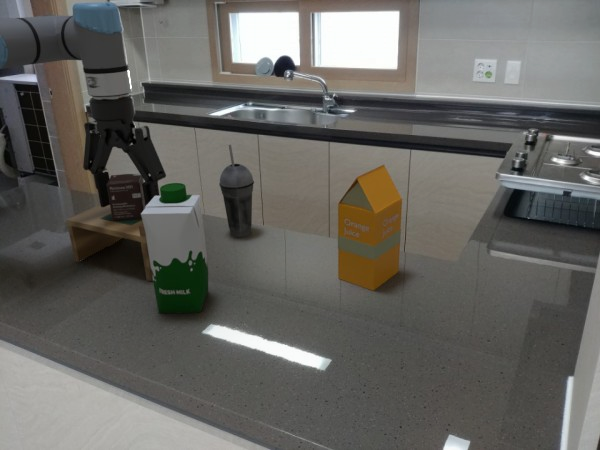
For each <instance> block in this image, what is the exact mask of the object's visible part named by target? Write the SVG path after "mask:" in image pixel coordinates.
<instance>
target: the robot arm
mask: <svg viewBox="0 0 600 450" xmlns="http://www.w3.org/2000/svg"><path fill="white" fill-rule="evenodd" d="M71 10H72V15H61V14H60V15H56V14H42V15H38V16H29V17H28V16H27V17H26V16H25V17H7V18H0V70H3V69H10V68H16V67H24V66H30V65H38V64H45V63H52V62H53V63H54V62H60V61H81V64H82V71H83V74H84V79H85V84H86V91H87V94H88V96H89V97H90V99H89V101H88V103H89V108H90V114H91V118H92V119H93V120H92V121H88V122H84V123H83V126H84V127H83V128H84V131H85V142H84V153H83V164H82V165H83V167H82V168H83V169H84V171H89V172H90V173H91V175H92V176H93V181H94V187H95V188H96V190H97V193H98V199H99V205H101V207H106V206H108V205H110V202H109V196H108V190H107V183H108V181H109V179H110V175H109V171H108V168H107V165H108V161H109V159H110V156H111V153H112V150H113V148H117V149H120V150H122V152H123V153H125V154H127V156H128V157H129V159H130V160H131V162H132V164H133V165H134V166H135V167H136V170H137V171H138V174H141V176H142V177H143V181H144V183H142V187H143V194H144V200H145V206H146V205H147V204H148V203H149V202H150V201H151V200H152V198H153V197H154V196H160V187H159V181H160V180H163V179H165V178H166V177H167V174H166V172H165V169H164V166H163V163H162V162H161V160H160V157H159V154H158V153H157V150H156V147H155V145H154V143H153V140H152V139H151V132H150V127H149V126H148V125H143V126H136V124H135V122H134V118H135V116H136V107H135V100H134V97H133V95H131V93H132V92H133V87H132V81H131V75H130V70H129V62H128V55H127V49H126V41H125V35H124V30H125V29H124V28H125V27H124V26H123V22H122V18H121V13H120V8H119V6H118V5H117V4H116V3H115V2H112V1H104V2H103V1H101V2H79V3H77V2H76V3H74V4H73V5H72V9H71Z"/></svg>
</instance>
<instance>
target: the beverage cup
mask: <svg viewBox="0 0 600 450" xmlns="http://www.w3.org/2000/svg"><path fill="white" fill-rule="evenodd" d="M228 150H229V157H230V164H229V165H227V166H226V167H225V168H224V169H223V170H222V171H221V174H220V177H219V183H218V184H219V187H220V191H221V194H222V197H223V203H224V208H225V214H226V219H227V225H228V229H229V234H230V236H231V237H234V238H246V237H248V236H250V235H251V233H252V225H253V224H252V221H253V217H252V215H253V191H254V183H255V181H254V177H253V175H252V172H251V171H250V169H249V168H248V167H247V166H245V165H243V164H241V163H235V160H234V154H233V148H232V144H229V145H228Z"/></svg>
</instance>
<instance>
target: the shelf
mask: <svg viewBox="0 0 600 450" xmlns="http://www.w3.org/2000/svg"><path fill="white" fill-rule="evenodd" d="M65 220H66V225H67V230H68V234H69V239H70V245H71V248H72V251H73V257H74V261H75V260H77V261H76V262H78V261H80V260H82V259H84V258H86V257H88V256H90V255H91V256H93V255H95V254H97V253H99V252H101V251H103V250H105V249H106V248H105V247H107V246H108V247H110V246H112V245H114V244H116V243H118V242H120V241H121V240H120V239H122V238H124V239H125V240H130V241H133V242H138V243H140V248H141V254H142V259H143V266H144V272H145V278H146V281H149V282H153V277H152V271H151V265H150V259H149V252H148V246H147V240H146V233H145V228H144V224H143V220H142V218H137V219H126V220H113V219H112V213H111V208H110V205H108V206H106V207H101V205H100V204H98V205H96V206H93V207H92V208H89V209H87V210H85V211H82V212H80V213H78V214H75V215H73V216H71V217H68V218H66V219H65ZM119 240H120V241H119ZM122 240H123V239H122ZM117 241H118V242H117ZM115 242H116V243H115ZM113 243H114V244H113ZM111 244H112V245H111ZM109 245H110V246H109ZM108 247H107V248H108ZM104 248H105V249H104ZM102 249H103V250H102ZM100 250H101V251H100ZM98 251H99V252H98ZM96 252H97V253H96ZM94 253H95V254H94ZM92 254H93V255H92ZM91 256H90V257H91ZM88 258H89V257H88ZM86 259H87V258H86ZM84 260H85V259H84ZM82 261H83V260H82ZM80 262H81V261H80Z"/></svg>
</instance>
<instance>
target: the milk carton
mask: <svg viewBox="0 0 600 450" xmlns="http://www.w3.org/2000/svg"><path fill="white" fill-rule="evenodd" d="M159 194H160V195H159V196H154V197H153V198H152V200H151V201H150V202H149V203H148V204H147V205H146V206H145V209H144V210H143V212H142V213H141V216H142V220H143V224H144V228H145V233H146V240H147V246H148V252H149V259H150V265H151V271H152V277H153V281H152V283H153V288H154V289H153V290H154V294H155V300H156V305H157V310H158V311H157V312H158V313H159V314H161V313H162V314H164V313H165V314H169V313H173V314H175V313H176V314H177V313H202V308H203V307H204V303H205V301H206V297H207V295H208V292H209V265H208V256H207V247H206V238H205V237H206V235H205V229H204V220H203V212H202V204H201V195H200V194H187V188H186V184H184V183H180V182H172V183H166V184H164V185H161V186H160V187H159Z"/></svg>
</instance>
